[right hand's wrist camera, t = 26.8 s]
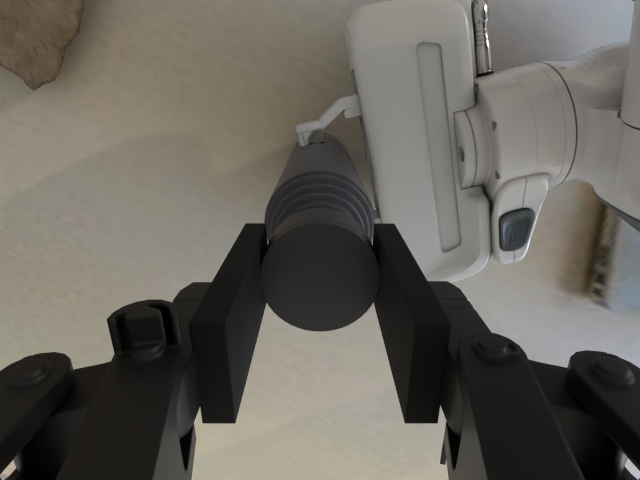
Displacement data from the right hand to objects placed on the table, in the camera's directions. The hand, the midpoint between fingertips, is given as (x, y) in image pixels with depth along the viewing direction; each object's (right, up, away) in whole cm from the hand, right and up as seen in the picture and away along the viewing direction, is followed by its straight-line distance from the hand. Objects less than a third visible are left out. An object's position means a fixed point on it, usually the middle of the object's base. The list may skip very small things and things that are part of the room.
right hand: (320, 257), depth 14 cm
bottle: (0, +8, +20) cm, 21 cm away
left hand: (-1, +5, +14) cm, 15 cm away
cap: (0, -1, -1) cm, 2 cm away
